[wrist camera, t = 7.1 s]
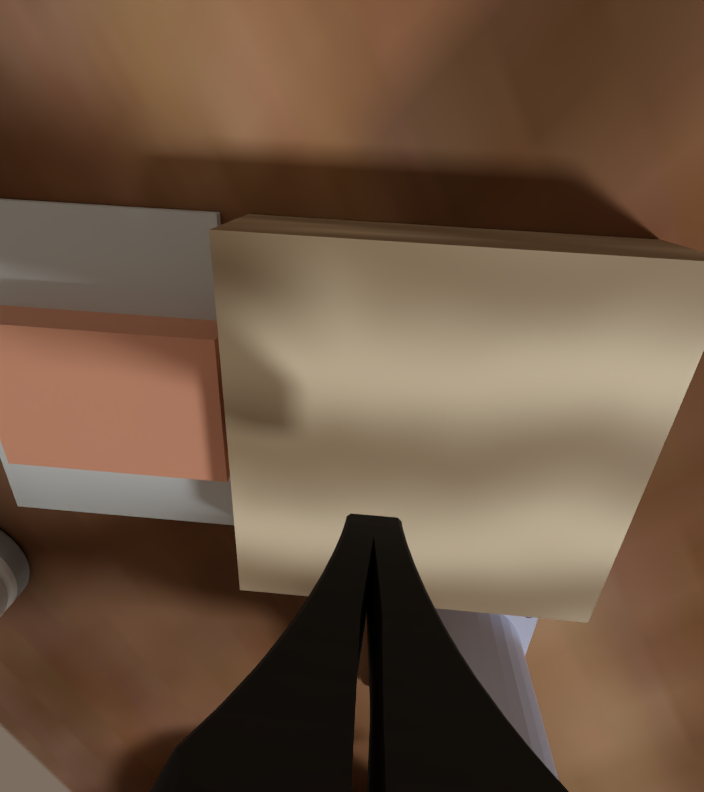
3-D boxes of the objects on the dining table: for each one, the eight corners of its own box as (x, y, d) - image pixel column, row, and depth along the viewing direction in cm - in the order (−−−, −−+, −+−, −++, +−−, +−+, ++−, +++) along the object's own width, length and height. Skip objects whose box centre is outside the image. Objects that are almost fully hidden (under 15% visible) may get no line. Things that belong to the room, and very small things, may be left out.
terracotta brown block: (241, 453, 20) (227, 482, 19) (40, 436, 21) (8, 463, 19) (231, 321, 18) (214, 340, 16) (1, 305, 18) (-42, 321, 16)
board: (555, 547, 22) (588, 622, 18) (263, 522, 23) (239, 590, 19) (660, 239, 16) (741, 263, 12) (248, 213, 16) (208, 229, 13)
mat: (242, 519, 23) (240, 525, 22) (23, 500, 23) (17, 506, 23) (219, 212, 16) (216, 213, 16) (-84, 193, 17) (-94, 194, 16)
